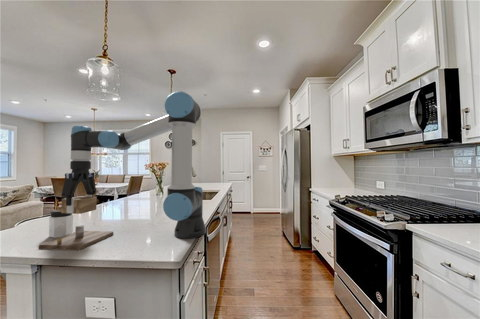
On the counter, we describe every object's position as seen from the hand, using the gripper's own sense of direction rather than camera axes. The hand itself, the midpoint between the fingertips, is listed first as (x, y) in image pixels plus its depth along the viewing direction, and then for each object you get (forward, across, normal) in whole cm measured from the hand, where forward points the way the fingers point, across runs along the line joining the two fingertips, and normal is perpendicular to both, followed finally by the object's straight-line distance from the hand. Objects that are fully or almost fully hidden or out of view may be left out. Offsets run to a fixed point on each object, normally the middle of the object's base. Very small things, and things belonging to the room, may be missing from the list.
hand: (79, 210), depth 100 cm
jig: (+13, 0, 0) cm, 13 cm away
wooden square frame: (0, 0, -3) cm, 3 cm away
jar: (+14, -7, -16) cm, 22 cm away
